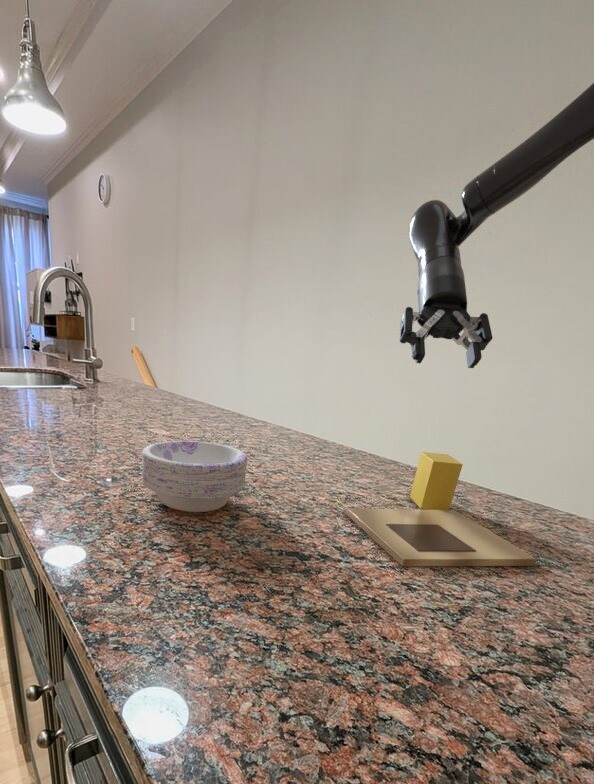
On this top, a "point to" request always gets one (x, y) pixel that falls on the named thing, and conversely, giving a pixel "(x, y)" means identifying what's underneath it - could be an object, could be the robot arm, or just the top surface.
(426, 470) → the yellow block
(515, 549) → the board
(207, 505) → the paper bowls
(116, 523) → the top surface
